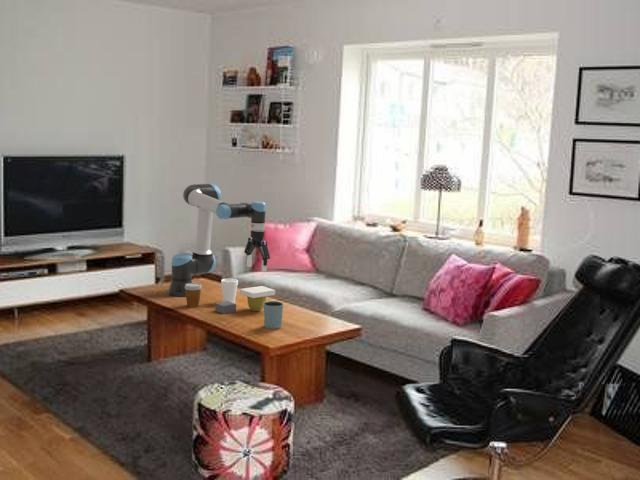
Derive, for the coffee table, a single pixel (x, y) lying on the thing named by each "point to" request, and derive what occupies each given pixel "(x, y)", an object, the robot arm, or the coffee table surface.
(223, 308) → the stand
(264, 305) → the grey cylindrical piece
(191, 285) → the disposable coffee cup
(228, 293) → the foam cup
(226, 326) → the coffee table surface
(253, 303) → the flower pot
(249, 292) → the lid
